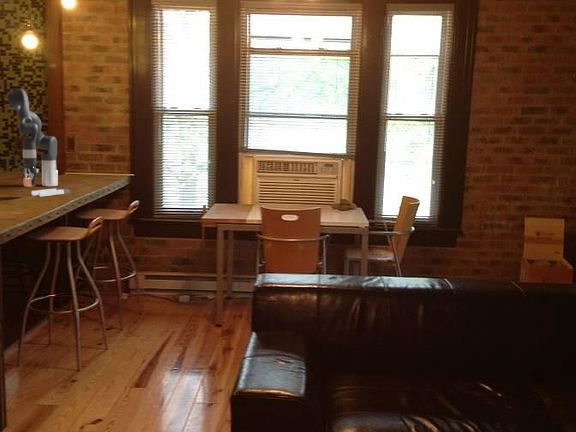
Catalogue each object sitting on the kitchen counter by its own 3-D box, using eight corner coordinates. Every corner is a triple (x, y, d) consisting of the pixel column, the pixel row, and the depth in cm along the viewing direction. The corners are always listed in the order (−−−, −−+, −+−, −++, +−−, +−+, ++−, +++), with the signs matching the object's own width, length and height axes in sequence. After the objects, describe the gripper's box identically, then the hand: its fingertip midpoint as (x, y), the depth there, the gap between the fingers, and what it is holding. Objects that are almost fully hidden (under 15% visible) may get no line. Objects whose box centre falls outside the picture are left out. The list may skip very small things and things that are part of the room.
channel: (55, 192, 426) (55, 188, 425) (63, 193, 422) (63, 189, 421) (31, 195, 411) (31, 191, 410) (40, 196, 407) (40, 192, 406)
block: (29, 185, 407) (29, 177, 406) (34, 185, 404) (34, 178, 403) (23, 186, 403) (23, 178, 402) (28, 186, 400) (28, 179, 400)
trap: (61, 191, 430) (61, 188, 430) (70, 192, 426) (70, 190, 426) (55, 192, 426) (55, 189, 426) (63, 193, 422) (63, 190, 422)
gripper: (16, 156, 401) (17, 184, 405) (32, 158, 394) (33, 187, 398) (26, 155, 408) (28, 183, 411) (42, 157, 401) (43, 185, 404)
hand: (30, 185), depth 404 cm, fingers closed on block, 4 cm apart
